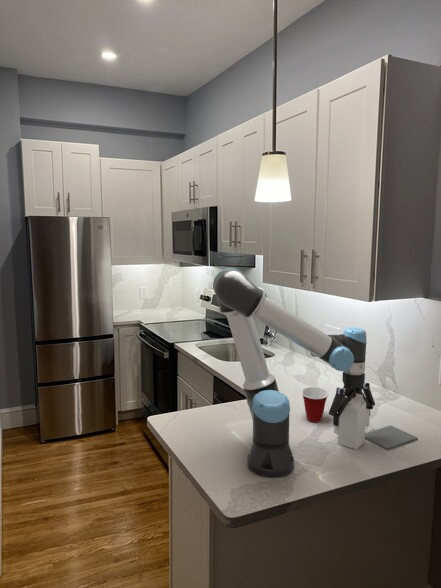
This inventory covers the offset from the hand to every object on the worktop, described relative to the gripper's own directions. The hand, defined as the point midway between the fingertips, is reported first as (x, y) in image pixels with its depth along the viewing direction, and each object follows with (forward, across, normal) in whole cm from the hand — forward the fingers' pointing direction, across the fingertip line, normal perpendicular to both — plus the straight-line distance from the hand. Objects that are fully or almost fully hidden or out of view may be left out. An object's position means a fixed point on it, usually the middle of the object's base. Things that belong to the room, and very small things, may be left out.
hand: (351, 429), depth 160 cm
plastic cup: (+5, +2, +22) cm, 23 cm away
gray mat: (+5, +15, -4) cm, 16 cm away
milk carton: (+5, 0, 0) cm, 5 cm away
